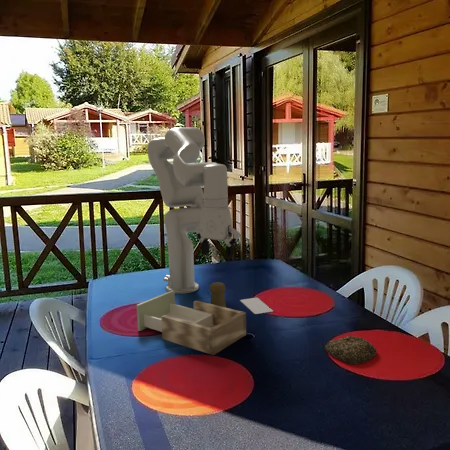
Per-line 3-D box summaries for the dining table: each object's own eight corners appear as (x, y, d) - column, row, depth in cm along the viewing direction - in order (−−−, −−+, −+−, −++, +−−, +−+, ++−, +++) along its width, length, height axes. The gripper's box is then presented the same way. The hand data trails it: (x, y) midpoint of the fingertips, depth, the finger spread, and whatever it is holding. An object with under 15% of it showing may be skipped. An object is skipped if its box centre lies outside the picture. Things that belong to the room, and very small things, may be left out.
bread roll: (349, 369, 120) (350, 350, 120) (318, 350, 131) (319, 333, 130) (386, 357, 126) (387, 339, 125) (354, 340, 137) (354, 323, 136)
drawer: (138, 330, 146) (136, 304, 144) (173, 313, 159) (172, 290, 157) (183, 344, 135) (182, 317, 134) (217, 325, 148) (216, 300, 146)
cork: (229, 312, 159) (229, 281, 157) (223, 319, 154) (223, 286, 152) (212, 310, 161) (211, 279, 159) (206, 317, 156) (205, 285, 154)
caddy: (162, 338, 140) (161, 316, 139) (197, 321, 153) (196, 300, 151) (213, 355, 129) (212, 331, 128) (246, 334, 142) (245, 312, 140)
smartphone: (255, 314, 157) (239, 299, 171) (255, 315, 157) (239, 301, 171) (274, 311, 159) (257, 297, 173) (274, 312, 159) (257, 298, 173)
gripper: (187, 203, 152) (189, 254, 156) (231, 207, 142) (232, 262, 146) (202, 200, 158) (203, 250, 162) (245, 203, 148) (246, 256, 152)
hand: (217, 255), depth 154 cm, fingers open, 9 cm apart
